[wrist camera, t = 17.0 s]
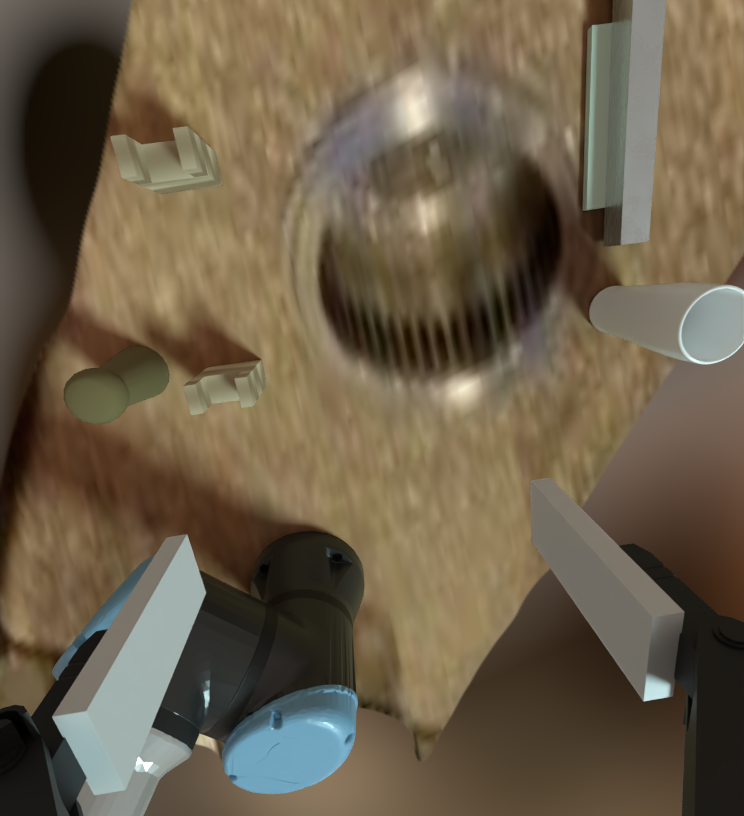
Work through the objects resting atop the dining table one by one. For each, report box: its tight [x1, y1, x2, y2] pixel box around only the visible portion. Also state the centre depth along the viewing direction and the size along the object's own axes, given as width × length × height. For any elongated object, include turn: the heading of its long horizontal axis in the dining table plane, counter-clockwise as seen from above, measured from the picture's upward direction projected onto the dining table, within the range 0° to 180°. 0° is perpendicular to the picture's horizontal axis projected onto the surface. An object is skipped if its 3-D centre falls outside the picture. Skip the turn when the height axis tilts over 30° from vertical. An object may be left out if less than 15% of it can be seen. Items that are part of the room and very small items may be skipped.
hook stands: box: [110, 126, 267, 415], centre depth 42 cm, size 24×6×8 cm, turn 7°
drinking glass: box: [589, 282, 744, 364], centre depth 42 cm, size 7×7×15 cm
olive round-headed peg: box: [64, 346, 169, 424], centre depth 43 cm, size 6×6×11 cm
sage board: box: [583, 23, 612, 211], centre depth 43 cm, size 16×7×1 cm, turn 7°
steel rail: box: [603, 0, 666, 246], centre depth 41 cm, size 24×3×3 cm, turn 8°
